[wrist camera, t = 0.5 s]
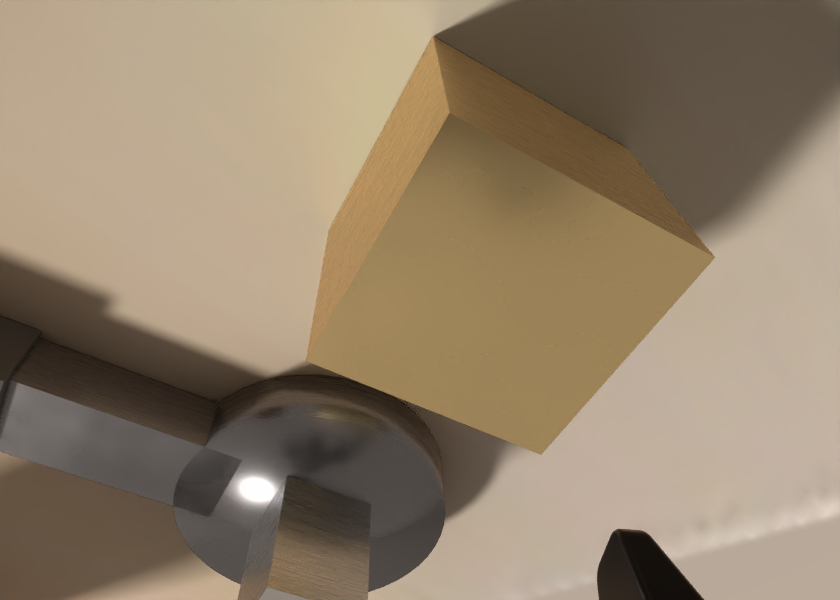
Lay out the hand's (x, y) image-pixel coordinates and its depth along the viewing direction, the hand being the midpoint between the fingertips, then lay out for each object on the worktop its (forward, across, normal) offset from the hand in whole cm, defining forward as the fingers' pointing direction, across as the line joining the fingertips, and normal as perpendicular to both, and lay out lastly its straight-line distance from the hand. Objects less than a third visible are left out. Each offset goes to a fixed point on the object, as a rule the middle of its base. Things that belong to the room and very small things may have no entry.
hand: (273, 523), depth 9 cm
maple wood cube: (+12, -4, 0) cm, 12 cm away
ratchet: (+11, +8, +8) cm, 16 cm away
